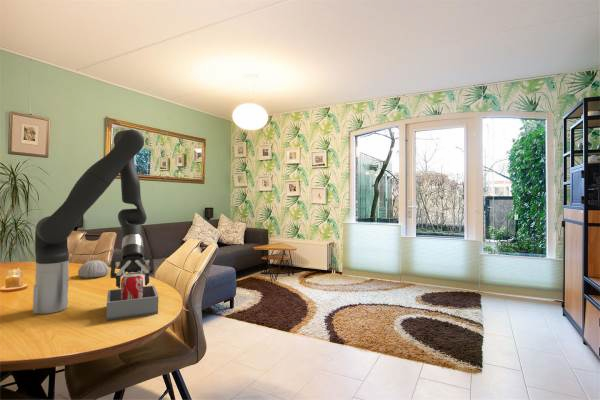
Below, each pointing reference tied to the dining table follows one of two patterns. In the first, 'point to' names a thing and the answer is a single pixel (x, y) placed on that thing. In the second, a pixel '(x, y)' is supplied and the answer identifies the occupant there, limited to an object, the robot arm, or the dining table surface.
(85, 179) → the robot arm
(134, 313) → the bin
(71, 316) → the dining table surface
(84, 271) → the sea urchin shell
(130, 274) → the soda can
